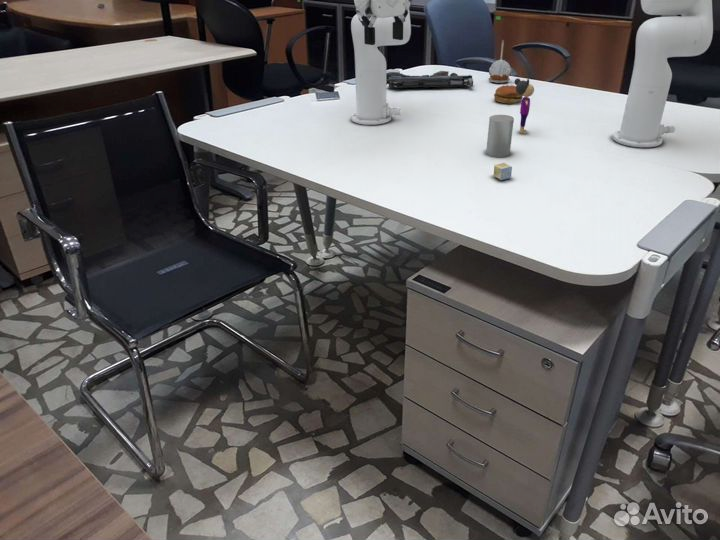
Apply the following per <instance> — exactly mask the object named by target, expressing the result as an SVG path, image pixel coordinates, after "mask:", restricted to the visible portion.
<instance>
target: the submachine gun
mask: <svg viewBox="0 0 720 540" xmlns="http://www.w3.org/2000/svg"><path fill="white" fill-rule="evenodd" d="M449 73H450V72H449V71H448V70H447V71H446V70H439V71H437V72H435V73H434V72H433V74H430V75H429V74H422V75H409V74H403V73H400V72H396V71H390V72H386V86H387V85H388V88H389V89H401V88H403V89H404V88H405V89H406V88H453V87H455V88H456V87H461V88H462V87H467V86H468V87H470V88H472V87H473V86H474V79H473V75H470V74H468V75H458V73H456V72H452V73H450V74H449Z"/></svg>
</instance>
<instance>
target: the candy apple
mask: <svg viewBox="0 0 720 540" xmlns="http://www.w3.org/2000/svg"><path fill="white" fill-rule="evenodd" d="M504 44H505V40H504V39H502V40H501V48H500V56H499V57H500V58H499V59H498V60H496V61H494V62H493V63H492V64H491V65H490V67H489V69H488V71H489V72H488V75H489V77H488V79H487V80H488V81H489V82H491V83H497V84H504V83H507V82H510V81H511V79H510V75H511V73H512V68H511V65H510V64H509V62H508V61H506V60H505V59H503V56H504V55H503V54H504V47H505V46H504Z"/></svg>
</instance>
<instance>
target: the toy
mask: <svg viewBox="0 0 720 540" xmlns="http://www.w3.org/2000/svg"><path fill="white" fill-rule="evenodd" d="M514 84H515V86H516V92H517V93H518V94H520V95H523V96H522V99H521V101H520V109H519V110H520V111H519V114H520V123H519V124H520V125H519V133H520V134H527V129H525V127H526V122H527V118H528V117H529V113H530V108H531V98H530V97H531V96H533V94H534V92H535V87H534V85H532V84H531V83H530V79H529V78H527V79H526V80H521V78H519V77H518V78H515V79H514Z"/></svg>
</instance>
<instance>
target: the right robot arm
mask: <svg viewBox="0 0 720 540" xmlns="http://www.w3.org/2000/svg"><path fill="white" fill-rule="evenodd" d="M640 6H641V10H642V11H643V12H644V14H647V15H649V16H658V17H653V18H649V19H647V20H645V21H643V22H642V24H641V25H639V27H638V29H637V31H636V36H635V50H634V51H635V54H634V61H633V62H634V63H633V68H632V74H631V79H630V84H629V89H628V93H627V98H626V101H625V102H626V103H625V107H624V112H623V116H622V121H621V126H620V130H617V131H615V132H614V133H613V134H612V139H613V141H615V142H616V143H618V144H621V145H624V146H626V147H633V148H655V147H659V146H661V145H662V144H663V141H664V140H663V137H662V135H664V134H673V133H674V132H675V131H676V128H675V126H674V125H666V126H665V125H664V123H663V124H662V119H663V115H664V111H665V108H666V104H667V99H668V96H669V91H670V87H671V83H672V79H673V72H672V69H671V66H670V64H669V62H668V59H669V58H680V57H681V58H682V57H696V56H701V55H702V54H704V53H705V52H706V51H707V50H708V49H709V47H710V46H711V43H712V41H713V35H714V19H713V18H714V17H713V0H640ZM671 15H672V16H671ZM676 15H679V16H676Z"/></svg>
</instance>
